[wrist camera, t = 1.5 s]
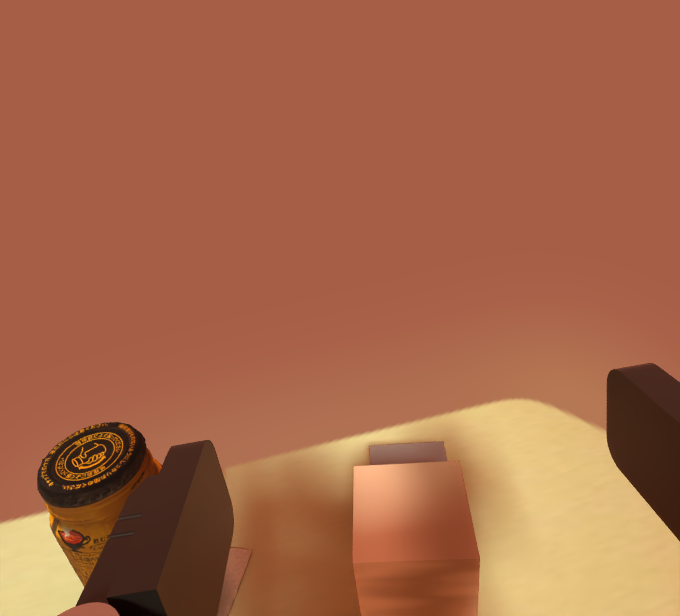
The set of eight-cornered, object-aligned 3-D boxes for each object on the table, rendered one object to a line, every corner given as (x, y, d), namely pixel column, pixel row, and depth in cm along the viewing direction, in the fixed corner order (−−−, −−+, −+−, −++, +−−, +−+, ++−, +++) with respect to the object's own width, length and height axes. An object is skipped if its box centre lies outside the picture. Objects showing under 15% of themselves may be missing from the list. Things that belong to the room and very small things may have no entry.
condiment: (138, 536, 37) (74, 404, 30) (253, 551, 35) (209, 413, 29) (72, 648, 31) (-24, 511, 24) (206, 674, 29) (139, 531, 22)
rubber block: (375, 548, 34) (370, 506, 32) (374, 485, 38) (369, 445, 36) (454, 545, 34) (454, 503, 32) (444, 482, 38) (443, 441, 36)
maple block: (373, 695, 27) (352, 562, 21) (371, 598, 31) (353, 466, 26) (474, 693, 26) (479, 558, 21) (458, 595, 31) (459, 460, 25)
